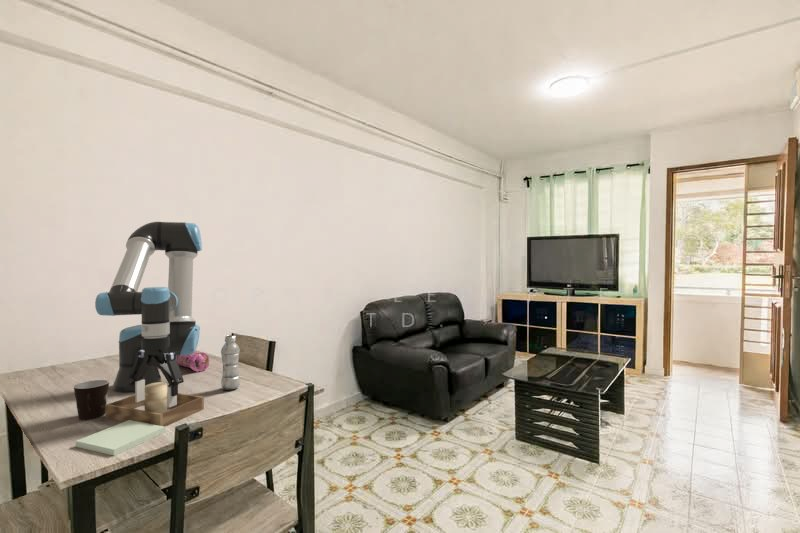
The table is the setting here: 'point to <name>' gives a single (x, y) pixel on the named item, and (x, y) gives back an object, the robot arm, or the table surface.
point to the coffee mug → (91, 399)
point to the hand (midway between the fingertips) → (155, 403)
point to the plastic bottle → (230, 363)
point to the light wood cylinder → (156, 397)
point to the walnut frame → (126, 411)
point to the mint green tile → (120, 437)
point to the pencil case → (194, 361)
